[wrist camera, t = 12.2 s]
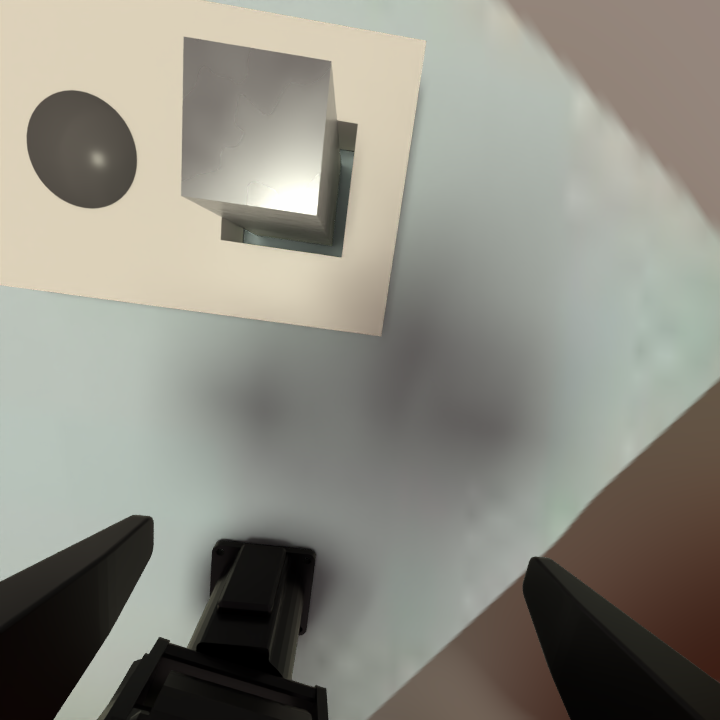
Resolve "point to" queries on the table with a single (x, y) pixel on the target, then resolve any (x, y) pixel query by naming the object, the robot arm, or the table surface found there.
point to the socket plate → (164, 162)
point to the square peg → (261, 139)
